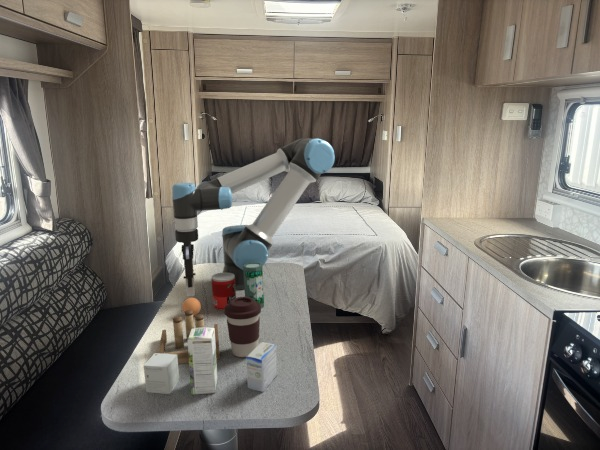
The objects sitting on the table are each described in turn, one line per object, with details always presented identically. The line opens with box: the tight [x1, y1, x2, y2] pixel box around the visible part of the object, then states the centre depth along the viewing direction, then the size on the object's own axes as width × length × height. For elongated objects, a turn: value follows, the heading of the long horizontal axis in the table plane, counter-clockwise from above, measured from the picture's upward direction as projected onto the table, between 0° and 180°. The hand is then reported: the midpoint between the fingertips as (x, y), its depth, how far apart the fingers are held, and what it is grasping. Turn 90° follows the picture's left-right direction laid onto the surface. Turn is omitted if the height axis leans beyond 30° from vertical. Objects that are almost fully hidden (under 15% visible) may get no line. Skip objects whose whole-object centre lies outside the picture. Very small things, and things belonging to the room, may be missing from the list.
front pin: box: [183, 310, 195, 342], centre depth 132 cm, size 2×2×9 cm
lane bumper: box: [157, 323, 221, 365], centre depth 128 cm, size 16×15×3 cm
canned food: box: [211, 271, 237, 311], centre depth 155 cm, size 8×8×11 cm
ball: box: [181, 297, 202, 317], centre depth 149 cm, size 6×6×6 cm
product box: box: [143, 352, 180, 395], centre depth 109 cm, size 6×6×7 cm
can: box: [243, 262, 265, 309], centre depth 154 cm, size 6×6×15 cm
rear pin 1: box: [172, 316, 185, 350], centre depth 128 cm, size 2×2×9 cm
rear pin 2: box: [194, 313, 205, 328], centre depth 129 cm, size 2×2×9 cm
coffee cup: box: [223, 296, 262, 358], centre depth 124 cm, size 10×10×15 cm
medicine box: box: [245, 341, 278, 393], centre depth 110 cm, size 8×4×9 cm, turn 157°
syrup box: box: [187, 327, 218, 396], centre depth 108 cm, size 6×6×14 cm
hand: (190, 294), depth 157 cm, fingers closed
